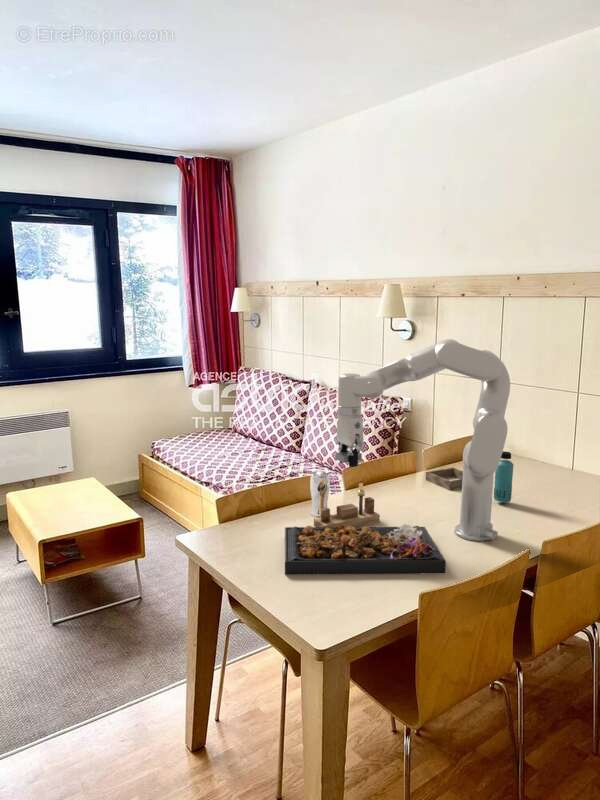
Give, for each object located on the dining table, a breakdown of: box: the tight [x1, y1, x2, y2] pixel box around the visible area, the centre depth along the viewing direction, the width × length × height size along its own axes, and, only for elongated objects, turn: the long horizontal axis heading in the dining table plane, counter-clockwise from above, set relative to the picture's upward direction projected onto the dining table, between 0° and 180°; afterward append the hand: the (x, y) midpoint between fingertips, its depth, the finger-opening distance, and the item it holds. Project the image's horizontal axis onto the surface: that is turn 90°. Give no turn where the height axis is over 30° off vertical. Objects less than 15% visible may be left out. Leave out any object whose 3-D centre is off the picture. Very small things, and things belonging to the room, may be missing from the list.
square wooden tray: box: [425, 467, 463, 491], centre depth 244 cm, size 15×15×4 cm
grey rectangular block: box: [335, 450, 363, 464], centre depth 195 cm, size 5×7×3 cm
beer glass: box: [309, 470, 331, 518], centre depth 206 cm, size 7×7×15 cm
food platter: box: [284, 523, 447, 576], centre depth 174 cm, size 45×25×10 cm, turn 91°
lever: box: [357, 482, 366, 497], centre depth 203 cm, size 2×10×2 cm, turn 175°
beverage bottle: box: [493, 450, 515, 503], centre depth 218 cm, size 6×7×20 cm
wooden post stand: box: [313, 496, 381, 527], centre depth 198 cm, size 7×22×9 cm, turn 117°
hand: (348, 463), depth 195 cm, fingers closed on grey rectangular block, 5 cm apart
